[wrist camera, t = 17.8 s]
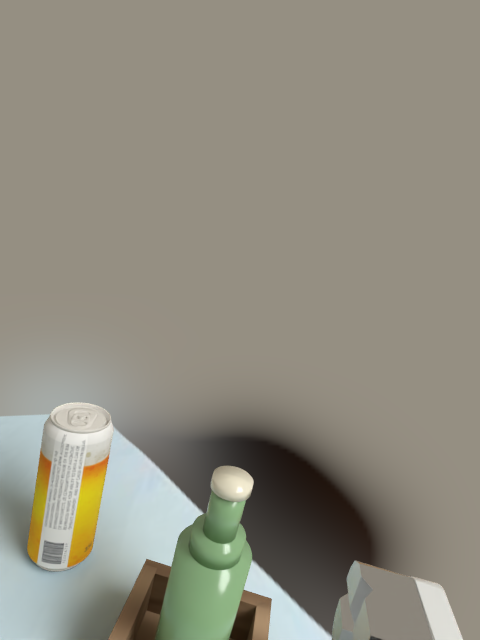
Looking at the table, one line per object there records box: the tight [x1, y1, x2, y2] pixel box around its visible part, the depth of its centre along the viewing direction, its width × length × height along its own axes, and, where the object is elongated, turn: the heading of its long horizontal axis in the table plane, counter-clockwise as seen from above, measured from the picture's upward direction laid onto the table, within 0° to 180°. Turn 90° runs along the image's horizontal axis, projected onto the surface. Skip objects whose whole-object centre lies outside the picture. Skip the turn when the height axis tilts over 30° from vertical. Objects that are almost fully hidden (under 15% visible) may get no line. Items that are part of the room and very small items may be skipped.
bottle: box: [154, 466, 253, 640], centre depth 32 cm, size 5×5×18 cm
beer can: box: [27, 403, 114, 571], centre depth 43 cm, size 6×6×15 cm
